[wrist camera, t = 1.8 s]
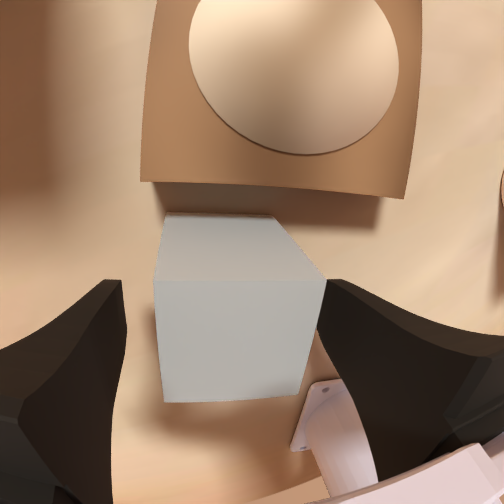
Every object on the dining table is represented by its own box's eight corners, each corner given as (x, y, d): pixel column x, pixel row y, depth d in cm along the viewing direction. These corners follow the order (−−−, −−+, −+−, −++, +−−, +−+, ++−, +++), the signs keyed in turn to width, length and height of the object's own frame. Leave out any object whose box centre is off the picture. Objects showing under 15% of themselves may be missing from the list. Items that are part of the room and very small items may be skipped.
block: (271, 214, 14) (326, 279, 8) (260, 304, 16) (298, 394, 10) (166, 211, 13) (152, 280, 8) (167, 304, 15) (164, 402, 9)
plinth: (390, -5, 10) (422, -18, 8) (372, 185, 14) (405, 199, 12) (176, -50, 8) (175, -80, 6) (149, 170, 12) (139, 182, 10)
